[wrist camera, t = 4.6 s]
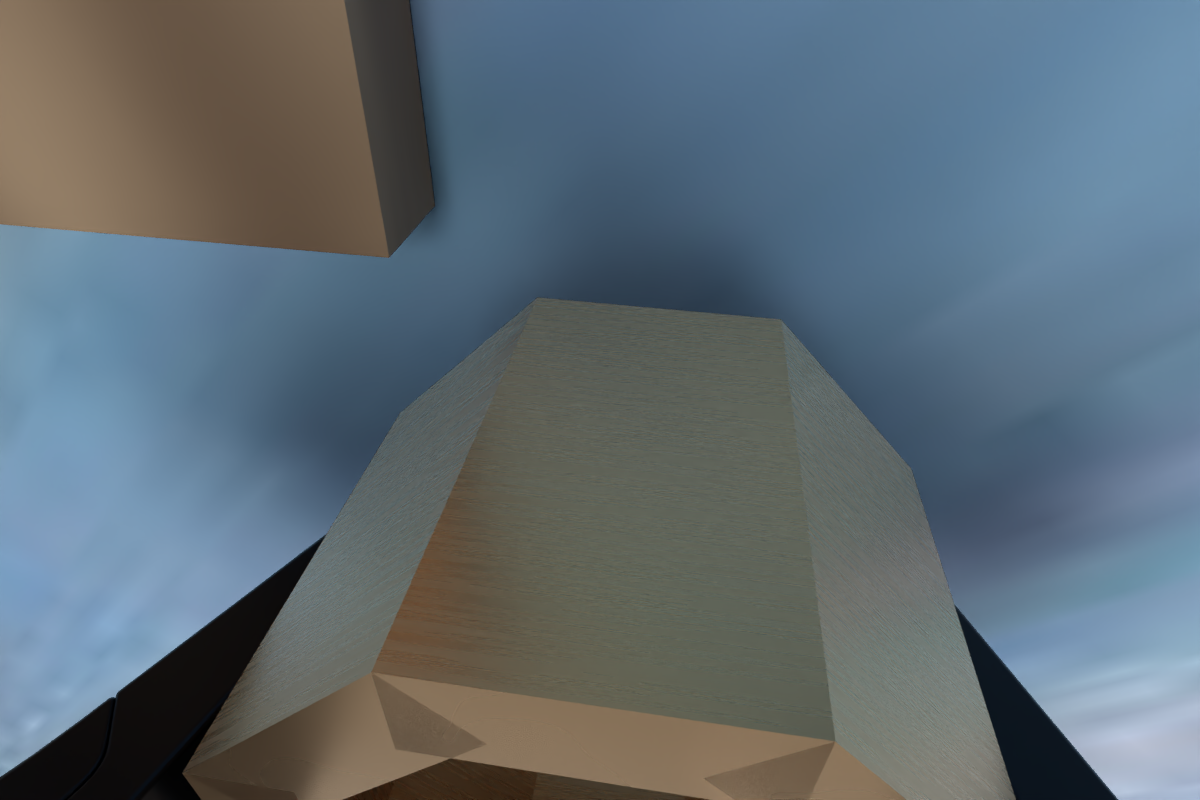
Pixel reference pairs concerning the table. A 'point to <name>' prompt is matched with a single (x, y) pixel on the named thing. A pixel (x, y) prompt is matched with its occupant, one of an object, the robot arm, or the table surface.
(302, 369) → the table surface
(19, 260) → the table surface
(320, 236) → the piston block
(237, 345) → the table surface
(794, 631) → the brown octagonal cup
